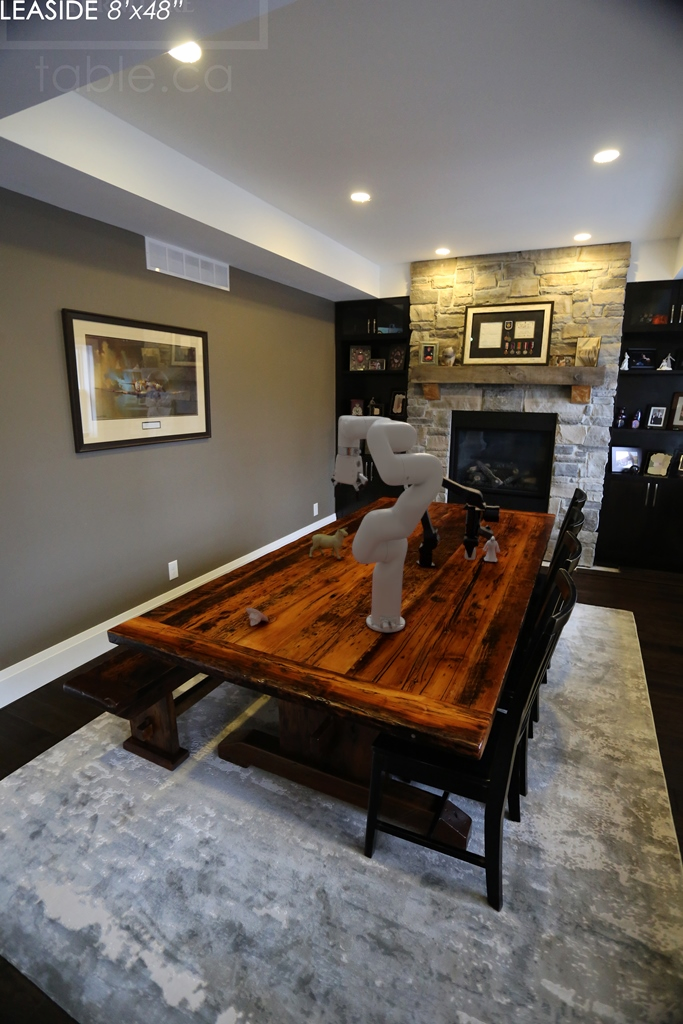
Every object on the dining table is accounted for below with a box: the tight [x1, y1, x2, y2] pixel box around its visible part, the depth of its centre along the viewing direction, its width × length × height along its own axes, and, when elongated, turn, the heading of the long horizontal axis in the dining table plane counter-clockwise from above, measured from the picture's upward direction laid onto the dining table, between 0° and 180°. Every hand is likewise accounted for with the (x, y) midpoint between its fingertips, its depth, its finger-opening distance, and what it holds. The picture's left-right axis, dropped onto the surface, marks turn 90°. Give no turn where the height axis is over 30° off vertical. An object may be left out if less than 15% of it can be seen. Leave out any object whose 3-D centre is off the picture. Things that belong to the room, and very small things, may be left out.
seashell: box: [245, 607, 269, 627], centre depth 160 cm, size 8×5×8 cm
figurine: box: [482, 535, 501, 563], centre depth 223 cm, size 8×8×12 cm
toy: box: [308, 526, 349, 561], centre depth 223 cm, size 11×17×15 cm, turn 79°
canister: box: [464, 547, 477, 561], centre depth 212 cm, size 4×4×4 cm
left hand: (347, 499), depth 179 cm, fingers open, 9 cm apart
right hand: (469, 556), depth 212 cm, fingers closed on canister, 4 cm apart
